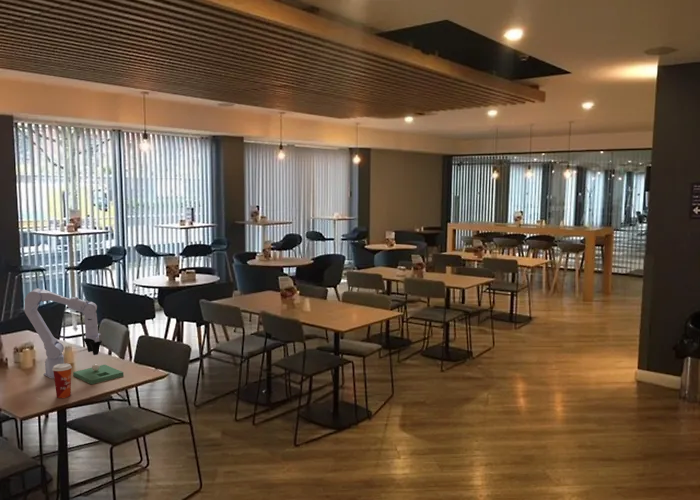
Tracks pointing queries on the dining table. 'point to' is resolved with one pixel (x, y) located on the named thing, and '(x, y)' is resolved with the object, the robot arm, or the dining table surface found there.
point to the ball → (95, 367)
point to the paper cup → (62, 380)
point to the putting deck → (98, 374)
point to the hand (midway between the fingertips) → (93, 353)
